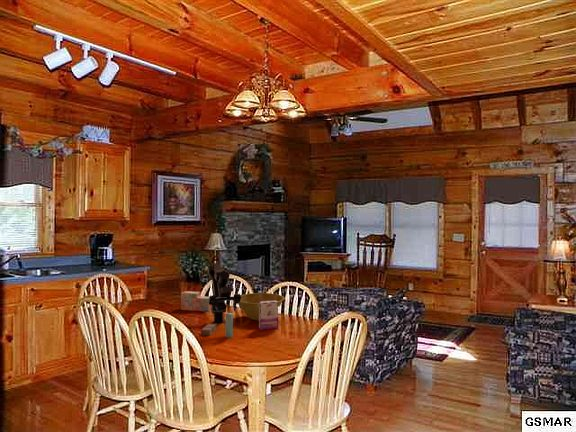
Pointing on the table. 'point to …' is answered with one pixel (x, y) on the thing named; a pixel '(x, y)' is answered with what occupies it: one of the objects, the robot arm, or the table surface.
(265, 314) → the candy bar box
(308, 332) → the table surface
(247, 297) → the planter bowl
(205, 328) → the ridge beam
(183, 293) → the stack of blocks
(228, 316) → the rod
